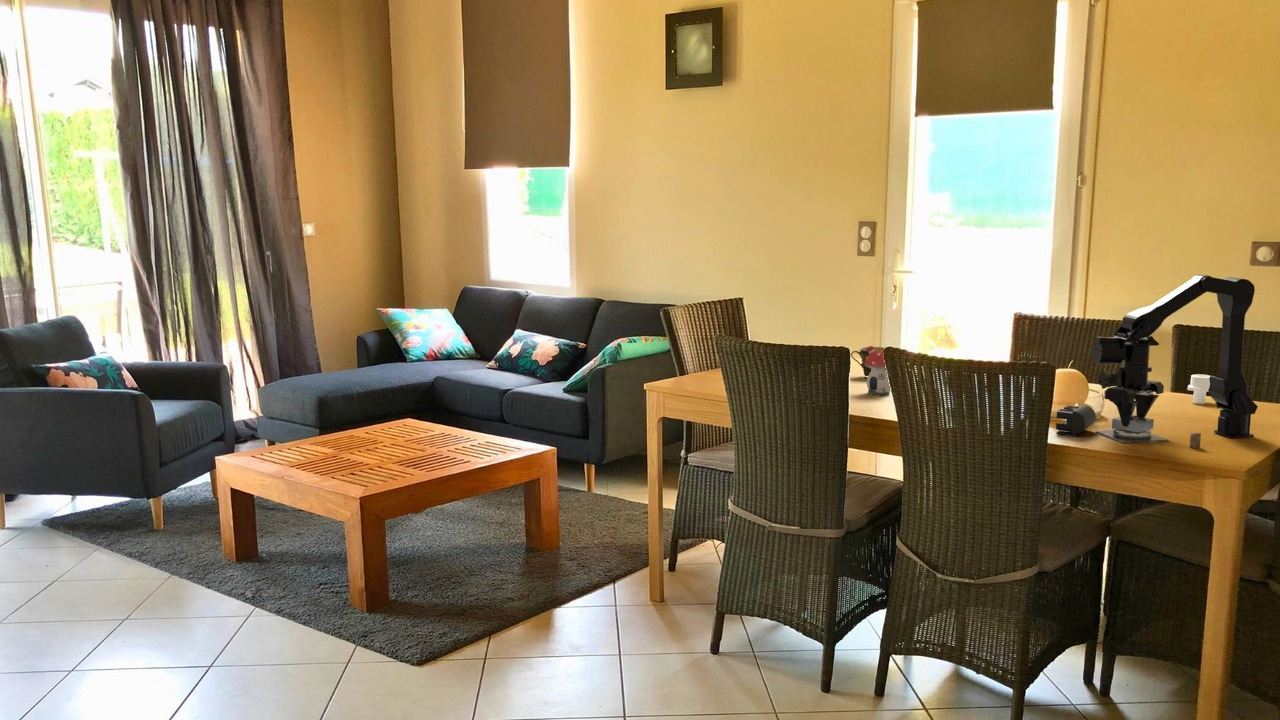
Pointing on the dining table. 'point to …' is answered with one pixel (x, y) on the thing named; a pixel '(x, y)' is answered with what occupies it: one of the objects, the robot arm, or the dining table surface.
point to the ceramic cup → (864, 355)
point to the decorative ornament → (877, 373)
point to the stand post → (1195, 440)
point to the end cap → (1075, 420)
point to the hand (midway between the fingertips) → (1132, 424)
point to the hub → (1131, 434)
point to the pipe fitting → (1199, 388)
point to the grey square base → (1134, 424)
